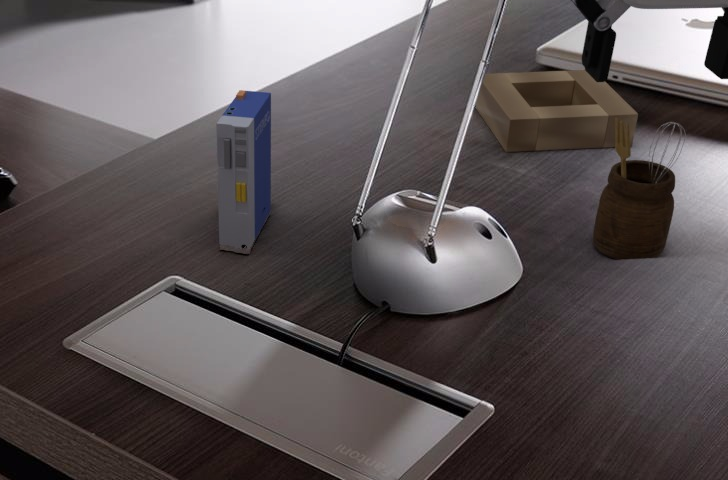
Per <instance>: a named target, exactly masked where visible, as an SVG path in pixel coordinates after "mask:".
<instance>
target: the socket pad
mask: <svg viewBox="0 0 728 480" xmlns="http://www.w3.org/2000/svg"><path fill="white" fill-rule="evenodd" d="M484 74H485V77H484V80H483V83H482V86H481V89H480V93H479V96H478V99H477V103H476V107H474V108H475V111H477V113H478V114H479V115H480V117H481V118H482V120H483V121H484V123H485V124H486V126H487V127H488V129H489V130H490V131H491V133H492V134H493V136H494V137H495V138H496V141H498V143H499V144H500V146H501V147H502V148H503V150H504V151H505V153H515V152H516V153H517V152H536V151H559V150H581V149H583V150H585V149H602V148H615V119H616V118H618V119H619V130H620V121H624V132H625V124H626V123H628V124H629V134H630V147H632V146H633V142H634V137H635V133H636V127H637V123H638V117H639V113H638V112H637V111H636V110H635V109H634V108H633V107H632V106H631V105H630V104H629V103H628V102H626V100H625V99H624V98H623V97H622V96H621V95H620V94H618V93H617V91H615V89H614V88H612V86H610V85H609V83H607V82H606V81H605V82H596V81H595V80H594V79H593V78H592V77H591V76H590V75H589V74H588V73H587V72H586V71H585V69H571V70H549V71H548V70H547V71H523V72H504V73H503V72H498V73H496V72H495V73H493V72H492V73H484Z"/></svg>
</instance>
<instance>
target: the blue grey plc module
mask: <svg viewBox="0 0 728 480" xmlns="http://www.w3.org/2000/svg"><path fill="white" fill-rule="evenodd" d="M215 127H216V130H215V131H216V163H217V165H216V166H217V169H216V170H217V195H218V196H217V202H218V205H217V206H218V207H217V208H218V234H219V235H218V241H219V243H218V244H221V245H229V246H234V247H235V248H240V249H243V248H244V247H245V246H246V250H249V249H250V247H251V246H252V244H253V242H254V240H255V238H256V237H257V235H258V233H259V231H260V230H261V228H262V226H263V224H264V222H265V220H266V218H267V216H268V215H269V213H270V211H272V209H271V205H272V204H271V203H272V201H271V200H272V193H271V192H272V191H271V190H272V174H271V173H272V92H267V91H266V92H264V91H254V90H242V89H241V90H238V92H237V93H236V94H235V97H234V99H233V100H232V101H231V103H229V105H228V107H227V108H226V109H225V111H224V112H223V113H222V115H221V116H220V117H219V119H218V121H217V122H216V124H215Z"/></svg>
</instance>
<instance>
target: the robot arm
mask: <svg viewBox="0 0 728 480" xmlns="http://www.w3.org/2000/svg"><path fill="white" fill-rule="evenodd" d="M570 1H571V2H572V3H573V5H574V6H575V7H576V8H577V10H578V11H580V14H582V16H583V18H584V19H585V20H586V21H587V27H586V32H585V36H584V37H585V38H584V41H583V48H582V52H581V53H582V54H581V64H582V66H583V67H584V70H585V71H586V72H587V73H588V74H589V75H590V76H591V77H592V78H593V79H594V80H595V81H596V82H606V81H607V80H608V79H609V73H610V69H611V64H612V60H613V54H614V48H615V45H616V40H617V32H616V30H614V29H613V28H612V27H613V25H614V23H616V22H617V21H618V20H619V19H620V18H621V17H622V16H623V15H624V14H625V13H626V12H627V11H628V10H629V9H630V8H631V7H632V8H635V9H640V10H674V9H675V10H682V9H683V10H685V9H687V10H688V9H719V8H720V9H722V11H723V15H717V17H716V19H715V20H714V22H713V26H712V29H711V30H712V31H711V34H710V39H709V42H708V46H707V50H706V55H705V58H704V62H703V65H704V67H705V68H706V69H707V70H708V71H710V72H711V73H713V75H715V76H716V77H717V78H719V79H720V80H728V0H570Z"/></svg>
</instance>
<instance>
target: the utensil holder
mask: <svg viewBox="0 0 728 480" xmlns="http://www.w3.org/2000/svg"><path fill="white" fill-rule="evenodd" d="M670 125H673V126H672V128H671V131H670V134H669V137H668V138H667V142H666V144H665V146H664V147H665V148H664V150H663V152H662V155H661V158H660V161H659V163H658V162H654V155H655V150H656V148H657V145H658V143H659V140H660V137H661V135H662V134H663V132H664V130H666V129H667V128H668V127H669V126H670ZM676 126H677V127H678V128H679V131H680V136H679V140H678V143H677V145H676V148H675V150H674V153H673V155H672V156H671V159H670V160H669V161H668V163H667V164H666V166H665V165H663V164H662V162H663V160H664V158H665V155H666V152H667V149H668V147H669V144H670V142H671V138H672V135H673V133H674V130H675V127H676ZM661 127H662V128H661ZM660 128H661V130H660V132H659V134H658V137H657V139H656V142H655V145H654V149H653V153H652V157H651V161H650V160H642V159H641V160H640V159H629V158H630V157H631V156H632V155H631V154H632V153H631V152H632V151H631V146H630V134H629V124H628V123H626V124H625V132H624V121H620V130H619V119H618V118H616V119H615V147H614V148H615V151H616V154H618V156H619V158H620V161H619V162H617V163H615V164H613V165H612V167H611V168H610V170H609V173H608V175H607V183H608V184H607V185H606V186H604V188H603V190H602V192H601V194H600V197H599V201H598V205H597V210H596V215H595V220H594V226H593V233H592V241H593V245H594V247H595V248H596V250H597V251H599V252H600V253H601V254H603V255H604V256H607V257H608V258H611V259H614V260H617V261H624V260H645V259H657V258H658V257H660V256H661V255H662V253H663V251H664V249H665V247H666V243H667V241H668V237H669V234H670V233H669V232H670V228H671V224H672V221H673V216H674V210H675V198H674V195H673V192H674V190H675V187H676V175H675V172H674V171H673V170H672V167H673V166H674V165H675V164H676V162H677V160H678V159H679V157H680V155H681V153H682V150H683V147H684V144H685V142H686V136H687V135H686V130H685V129H684V127H683V126H682V125H681V124H680V123H678V122H674V121H668V122H666V123H663V124H661V126H660V127H658V129H657V130H656V132H655V134H654V136H653V139H652V141H651V143H650V148H649V151H648V156H651V155H650V153H651V149H652V145H653V142H654V140H655V137H656V136H657V133H658V131H659V129H660ZM683 132H684V139H683V143H682V146H681V149H680V151H679V154H678V156H677V157H676V155H677V152H678V149H679V146H680V144H681V141H682V135H683ZM675 158H676V159H675ZM627 159H629V160H627ZM674 159H675V161H674V162H673V160H674ZM672 163H673V164H672ZM671 164H672V165H671Z"/></svg>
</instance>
